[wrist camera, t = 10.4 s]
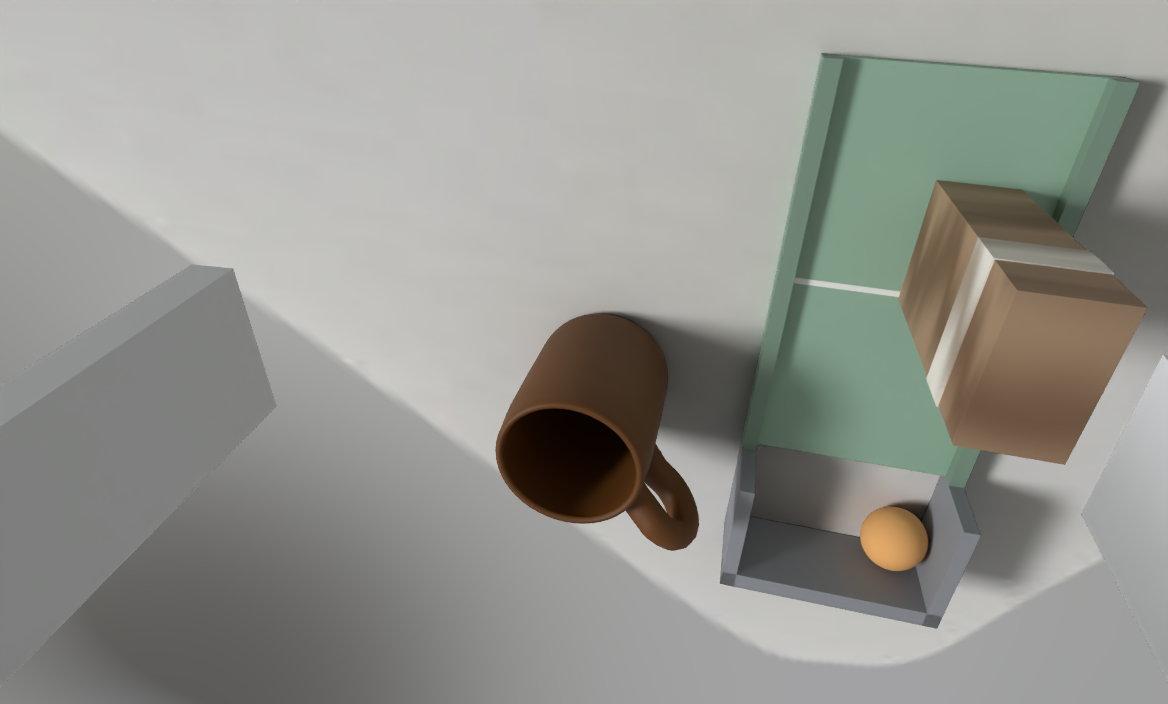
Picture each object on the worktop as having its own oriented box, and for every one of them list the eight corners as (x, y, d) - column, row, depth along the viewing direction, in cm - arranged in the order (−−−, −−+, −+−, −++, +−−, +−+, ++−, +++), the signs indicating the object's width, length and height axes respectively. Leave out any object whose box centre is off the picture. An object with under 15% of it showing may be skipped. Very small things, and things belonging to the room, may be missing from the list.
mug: (751, 420, 41) (747, 535, 33) (660, 482, 44) (637, 599, 37) (601, 282, 38) (557, 370, 30) (519, 361, 42) (462, 457, 34)
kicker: (935, 178, 31) (1016, 288, 21) (1023, 188, 31) (1150, 306, 21) (896, 300, 34) (951, 446, 24) (976, 311, 34) (1066, 466, 24)
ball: (891, 520, 38) (899, 585, 38) (938, 506, 39) (946, 569, 39) (843, 508, 41) (850, 568, 41) (888, 496, 43) (895, 554, 43)
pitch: (821, 53, 30) (830, 71, 26) (1124, 77, 28) (1186, 100, 24) (724, 523, 45) (719, 583, 41) (920, 561, 43) (936, 628, 39)
